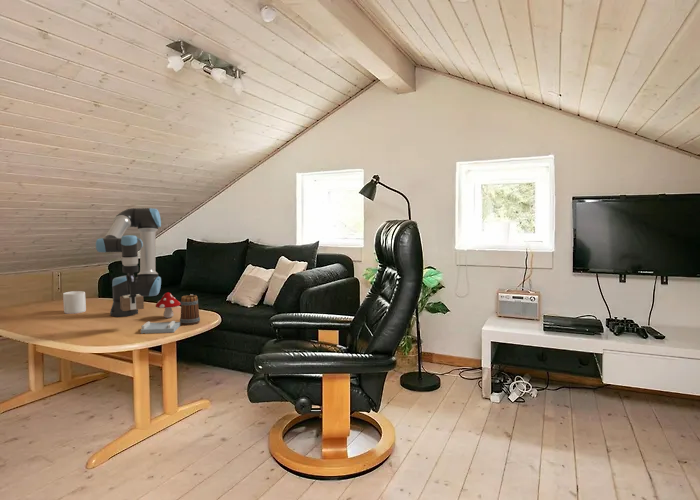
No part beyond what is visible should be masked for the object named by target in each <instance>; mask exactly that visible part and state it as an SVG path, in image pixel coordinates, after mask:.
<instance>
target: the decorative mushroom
mask: <svg viewBox="0 0 700 500" xmlns="http://www.w3.org/2000/svg"><path fill="white" fill-rule="evenodd" d="M155 307H156V308H159V309H164V311H163V318H166V319H170V318H173V317H174V311H173V308H177V307H181V301H179V300H178V299H176V297H174V295H172V293H171V292H169V291H168V292H165V293H164V294H163V295H162V297H161V299H160V300H158V301H157V303H156V304H155Z"/></svg>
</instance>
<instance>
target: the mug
mask: <svg viewBox="0 0 700 500" xmlns="http://www.w3.org/2000/svg"><path fill="white" fill-rule="evenodd" d="M180 299H181V300H180V303H181V305H180V319H179V322H180V325H183V326H192V325H194V326H195V325H197V324H198V325H199V323H200V322H201V316H200V309H199V299H198V296H197V294H195V295H194V294H193V293H192V294H191V293H190V295H187V294H186V295H183V296H181V298H180Z"/></svg>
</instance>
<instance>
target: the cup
mask: <svg viewBox="0 0 700 500" xmlns="http://www.w3.org/2000/svg"><path fill="white" fill-rule="evenodd" d="M62 298H63V299H62V300H63V301H62V302H63V312H64V314H66V315H67V314H68V315H70V314H71V315H72V314H81V313H84V312H86V311H87V304H86V303H87V302H86V292H85V291H84V290H72V291H67V292H66V291H65V292H63V293H62Z"/></svg>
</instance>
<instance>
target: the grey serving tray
mask: <svg viewBox="0 0 700 500" xmlns="http://www.w3.org/2000/svg"><path fill="white" fill-rule="evenodd" d="M180 327H181V323H180V321H176V320H171V321H166V322H165V321H163V322H161V321H160V322H151V321H146V322H145V323H144V324H142V325H141V329H140V334H142V335H143V333H145V334H166V333H167V334H168V333H169V334H170V333H172V334H173V333H175V332H176V331H177V330H178V329H179V328H180Z"/></svg>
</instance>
